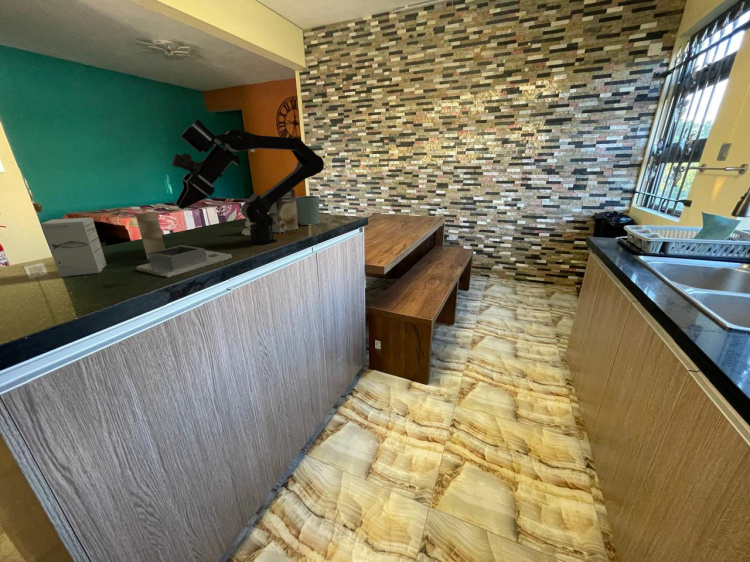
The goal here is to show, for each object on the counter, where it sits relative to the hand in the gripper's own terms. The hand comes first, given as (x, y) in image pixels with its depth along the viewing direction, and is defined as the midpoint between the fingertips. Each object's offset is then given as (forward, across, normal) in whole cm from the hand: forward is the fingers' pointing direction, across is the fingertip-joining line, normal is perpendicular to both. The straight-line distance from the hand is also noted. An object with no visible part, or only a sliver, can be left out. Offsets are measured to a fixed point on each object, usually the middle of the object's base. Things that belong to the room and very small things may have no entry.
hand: (178, 206), depth 87 cm
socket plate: (+11, +13, +8) cm, 19 cm away
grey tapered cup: (-25, -24, +45) cm, 57 cm away
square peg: (+15, 0, +4) cm, 16 cm away
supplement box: (+26, +6, -6) cm, 27 cm away
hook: (-7, -19, +26) cm, 33 cm away
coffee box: (-15, -16, +35) cm, 41 cm away
